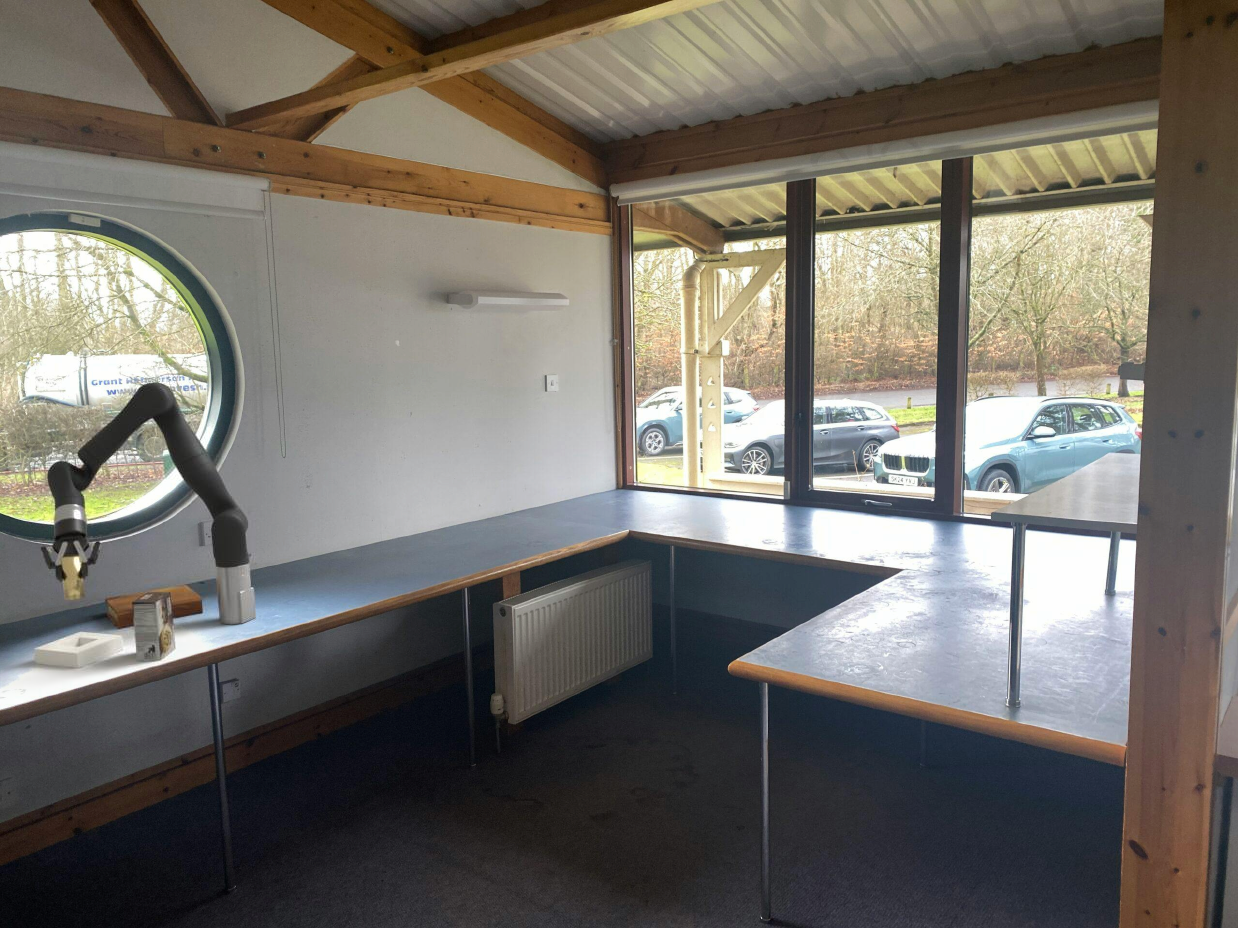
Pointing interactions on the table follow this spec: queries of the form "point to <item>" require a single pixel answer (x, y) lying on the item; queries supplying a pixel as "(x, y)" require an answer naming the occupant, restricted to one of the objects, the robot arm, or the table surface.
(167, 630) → the coffee box
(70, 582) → the peg
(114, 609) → the brown wooden box
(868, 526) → the table surface
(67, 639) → the socket
